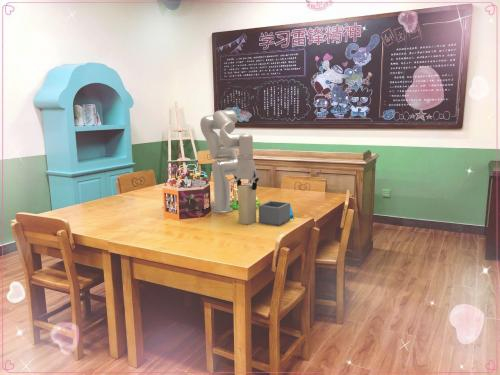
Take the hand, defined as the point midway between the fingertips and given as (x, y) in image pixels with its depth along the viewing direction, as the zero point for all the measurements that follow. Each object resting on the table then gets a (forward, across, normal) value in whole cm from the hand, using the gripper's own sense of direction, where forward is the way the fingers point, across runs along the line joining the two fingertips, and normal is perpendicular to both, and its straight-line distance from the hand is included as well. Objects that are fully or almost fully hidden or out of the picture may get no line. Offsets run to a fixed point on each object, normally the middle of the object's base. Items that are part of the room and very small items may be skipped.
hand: (246, 188), depth 226 cm
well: (+19, +12, +8) cm, 24 cm away
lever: (+20, +11, +25) cm, 34 cm away
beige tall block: (+19, -1, 0) cm, 19 cm away
